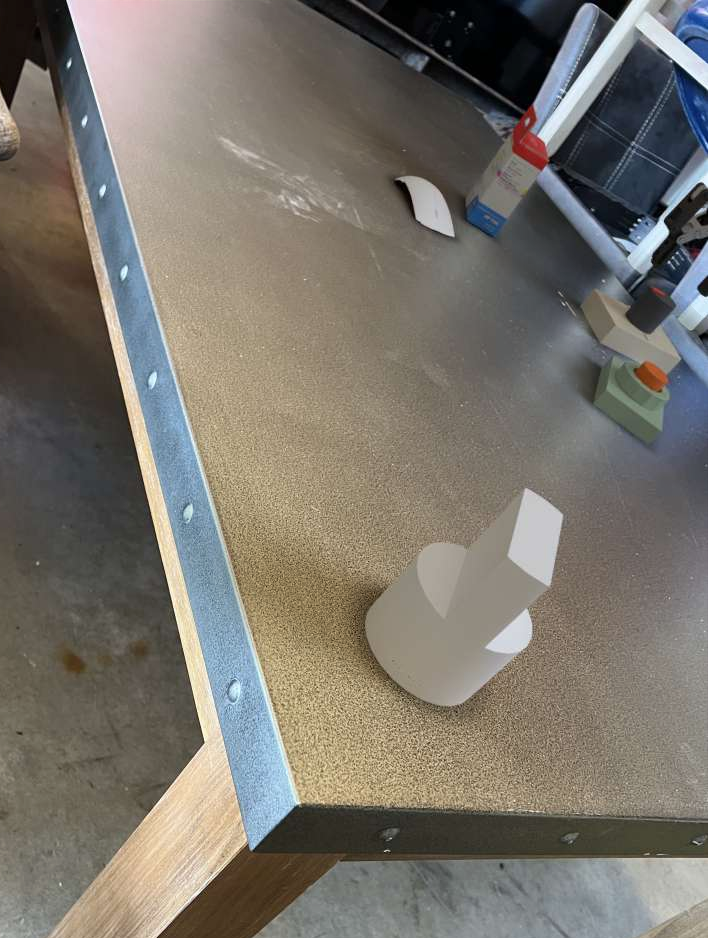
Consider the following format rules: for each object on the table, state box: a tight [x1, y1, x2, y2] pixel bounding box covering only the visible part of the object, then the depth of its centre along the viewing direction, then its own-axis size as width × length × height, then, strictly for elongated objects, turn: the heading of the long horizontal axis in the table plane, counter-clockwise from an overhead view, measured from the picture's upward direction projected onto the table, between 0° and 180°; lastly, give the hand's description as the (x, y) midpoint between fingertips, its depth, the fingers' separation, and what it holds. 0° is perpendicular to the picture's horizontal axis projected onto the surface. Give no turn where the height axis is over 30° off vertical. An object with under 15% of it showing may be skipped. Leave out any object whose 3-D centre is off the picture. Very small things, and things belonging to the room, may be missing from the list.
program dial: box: [626, 284, 677, 334], centre depth 128 cm, size 4×4×5 cm
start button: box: [634, 361, 669, 393], centre depth 113 cm, size 4×4×2 cm
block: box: [592, 354, 671, 446], centre depth 114 cm, size 12×8×4 cm, turn 157°
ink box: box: [465, 104, 550, 238], centre depth 130 cm, size 8×5×15 cm, turn 171°
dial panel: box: [579, 288, 682, 376], centre depth 130 cm, size 12×9×3 cm
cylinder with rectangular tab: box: [364, 487, 564, 707], centre depth 62 cm, size 9×9×12 cm
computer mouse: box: [394, 175, 456, 238], centre depth 125 cm, size 7×12×2 cm, turn 15°
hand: (678, 279), depth 125 cm, fingers open, 8 cm apart
